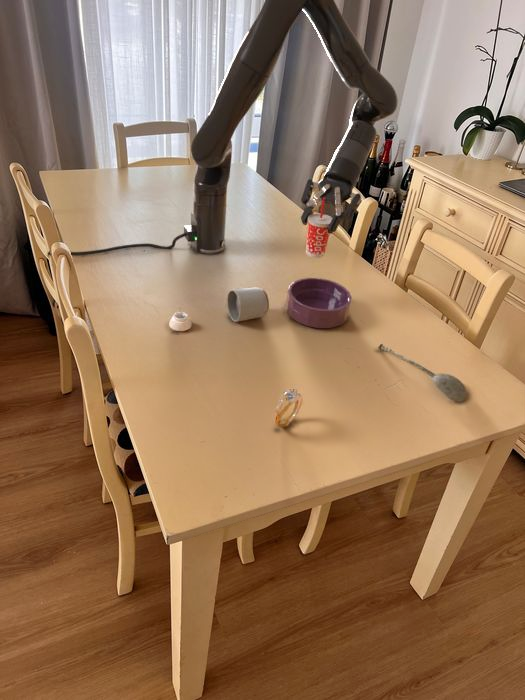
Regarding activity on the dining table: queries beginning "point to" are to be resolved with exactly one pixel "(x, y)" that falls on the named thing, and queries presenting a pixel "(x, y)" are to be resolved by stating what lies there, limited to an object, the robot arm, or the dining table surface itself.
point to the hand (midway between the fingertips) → (316, 227)
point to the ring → (289, 396)
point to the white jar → (180, 322)
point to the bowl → (318, 302)
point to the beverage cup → (317, 233)
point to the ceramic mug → (247, 303)
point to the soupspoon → (439, 380)
